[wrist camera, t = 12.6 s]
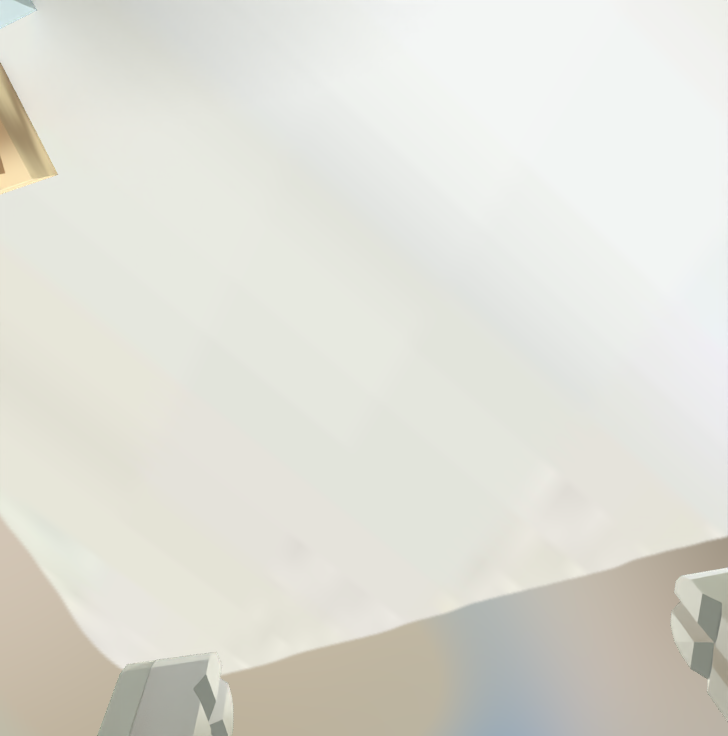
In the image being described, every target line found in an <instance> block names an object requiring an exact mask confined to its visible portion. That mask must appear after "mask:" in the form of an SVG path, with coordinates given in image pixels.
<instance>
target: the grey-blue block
mask: <svg viewBox="0 0 728 736" xmlns="http://www.w3.org/2000/svg"><path fill="white" fill-rule="evenodd" d="M35 11H37V10H36V8H35V6H34V4H33V2H32V1H31V0H0V29H1V28H3V27H5V26H7V25H9V24H11V23H13V22H15V21H17V20H19V19H21V18H23V17H25V16H27V15H29V14H31V13H33V12H35Z"/></svg>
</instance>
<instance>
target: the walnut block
mask: <svg viewBox="0 0 728 736" xmlns="http://www.w3.org/2000/svg"><path fill="white" fill-rule="evenodd" d="M0 174H5V170H4V167H3V163H2V160H1V156H0Z"/></svg>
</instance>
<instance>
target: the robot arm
mask: <svg viewBox="0 0 728 736" xmlns="http://www.w3.org/2000/svg"><path fill="white" fill-rule="evenodd" d="M674 593H675V594H676V595H677V597H678V598H679V599H680V602H679V604H678V605H677V606H676V607H675V608H674V609H673V610H672V614H671V629H672V633H673V637H674V641H675V644H676V645H677V648H678V649H679V652H680V654H681V655H682V657H683V659H684V660H685V661H686V663H687V664H688V666H689V667H690V668H691V669H692V670H694V671H695V672H697V673H698V674H700V675H702V676H704V677H705V678H707V679H708V689H707V690H708V691H707V693H708V695H709V696H710V697H711V699H712V700H713V702H714V703H715V704H716V706H717V707H718V709H719V710H720V712H721V713H722V714H723V716H724V717H725V719H726V720H727V722H728V568H723V569H718V570H711V571H706V572H700V573H695V574H689V575H683V576H680V577H679V578H678V580H677V581H676V584H675V590H674ZM221 669H222V664H221V661H220V659H219V656H218V654H217V652H211V653H204V654H196V655H189V656H181V657H174V658H166V659H159V660H153V661H146V662H139V663H133V664H127V665H126V667H125V668H124V669H123V671H122V672H121V673H120V675H119V678H118V681H117V683H116V686H115V689H114V692H113V694H112V697H111V700H110V703H109V705H108V708H107V711H106V713H105V716H104V719H103V722H102V724H101V727H100V730H99V732H98V735H97V736H232V733H233V701H232V695H231V691H230V688H229V685H228V683H227V682H225V681H224V680H222V679H221V678H220V675H221Z"/></svg>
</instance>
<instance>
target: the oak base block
mask: <svg viewBox="0 0 728 736" xmlns="http://www.w3.org/2000/svg"><path fill="white" fill-rule="evenodd" d="M0 156H1V160H2V163H3V167H4V170H5V174H0V194H3V193H6V192H9V191H12V190H15V189H17V188H20V187H23V186H26V185H29V184H32V183H35V182H38V181H41V180H44V179H47V178H50V177H53V176H56V175H58V174H57V172H56V170H55V168H54V166H53V164H52V162H51V160H50V158H49V156H48V154H47V152H46V151H45V149H44V147H43V145H42V143H41V141H40V139H39V137H38V135H37V133H36V131H35V129H34V127H33V125H32V123H31V121H30V119H29V117H28V115H27V113H26V111H25V110H24V108H23V106H22V104H21V102H20V100H19V98H18V96H17V94H16V92H15V90H14V88H13V86H12V84H11V82H10V80H9V78H8V76H7V74H6V72H5V70H4V69H3V67H2V65H1V63H0Z"/></svg>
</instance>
